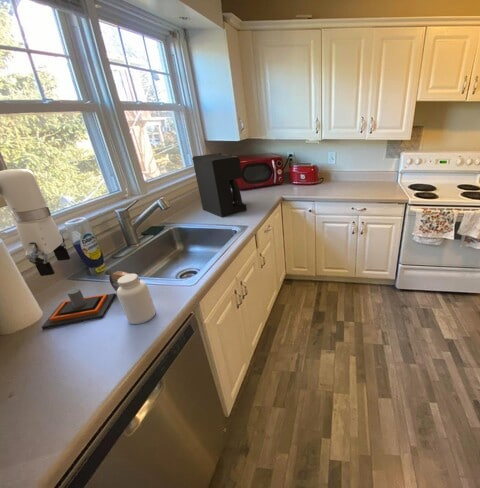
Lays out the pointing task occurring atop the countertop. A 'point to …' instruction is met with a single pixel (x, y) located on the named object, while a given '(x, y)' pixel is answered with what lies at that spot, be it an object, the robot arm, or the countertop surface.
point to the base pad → (73, 318)
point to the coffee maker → (219, 183)
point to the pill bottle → (135, 299)
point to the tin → (116, 278)
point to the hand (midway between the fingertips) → (56, 266)
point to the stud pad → (85, 308)
